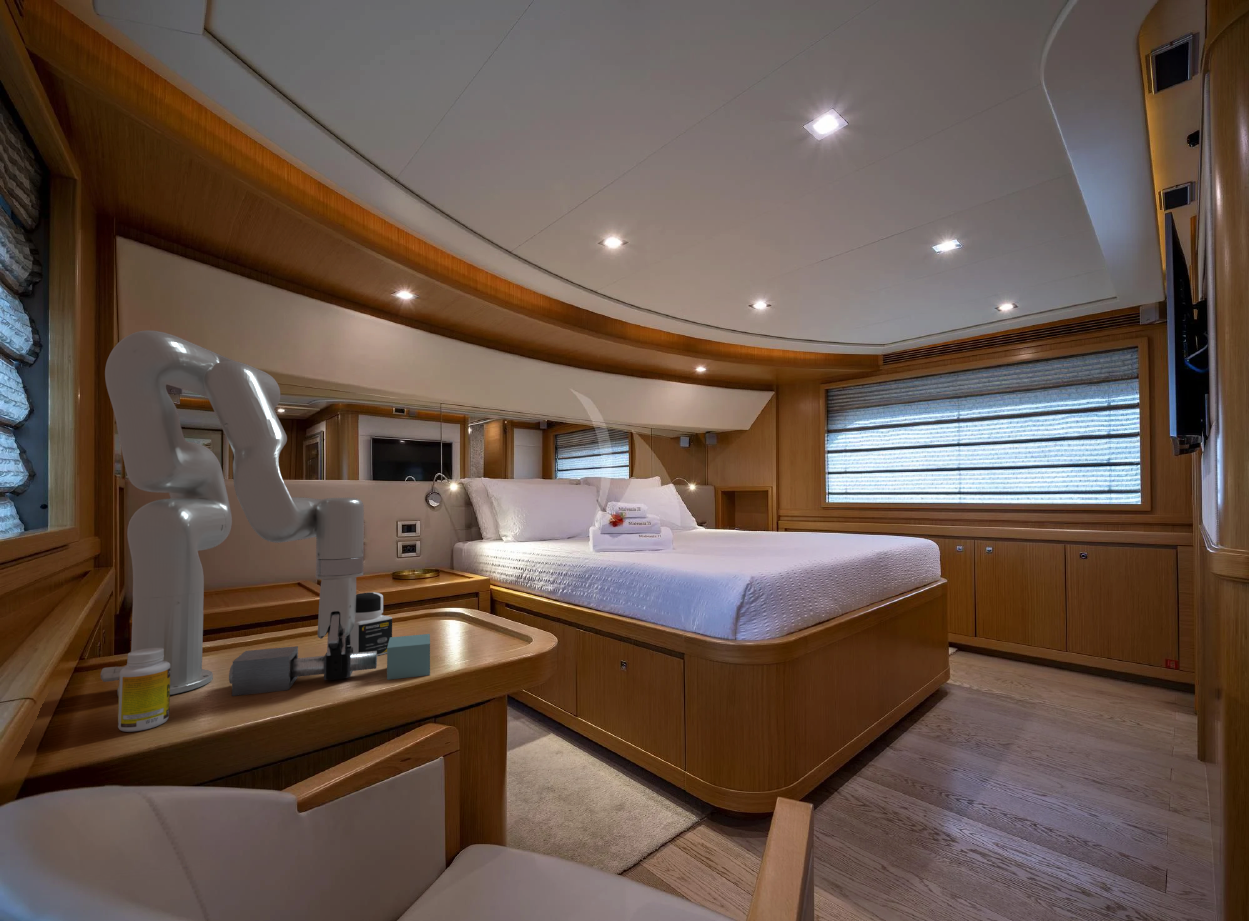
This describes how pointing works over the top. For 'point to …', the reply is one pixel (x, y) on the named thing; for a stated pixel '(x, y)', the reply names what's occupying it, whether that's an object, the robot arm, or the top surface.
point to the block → (408, 656)
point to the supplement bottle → (144, 690)
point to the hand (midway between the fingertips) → (338, 673)
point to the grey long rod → (319, 664)
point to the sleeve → (263, 671)
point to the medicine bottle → (370, 625)
